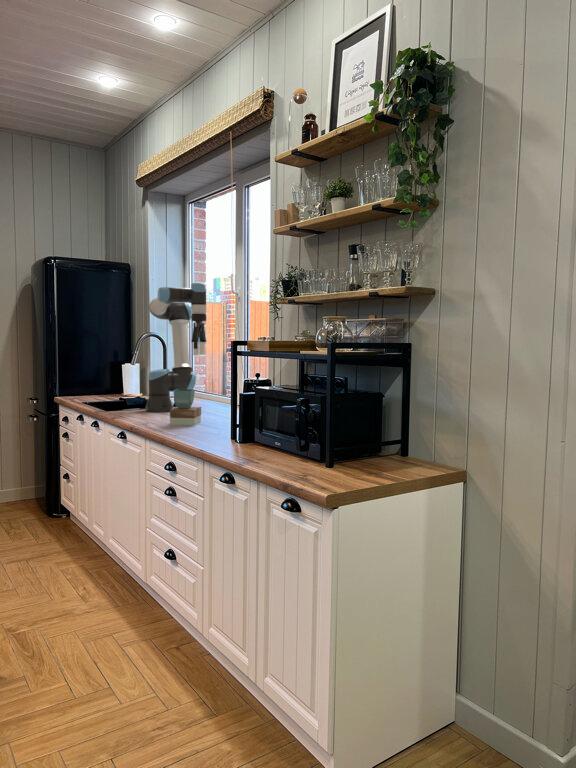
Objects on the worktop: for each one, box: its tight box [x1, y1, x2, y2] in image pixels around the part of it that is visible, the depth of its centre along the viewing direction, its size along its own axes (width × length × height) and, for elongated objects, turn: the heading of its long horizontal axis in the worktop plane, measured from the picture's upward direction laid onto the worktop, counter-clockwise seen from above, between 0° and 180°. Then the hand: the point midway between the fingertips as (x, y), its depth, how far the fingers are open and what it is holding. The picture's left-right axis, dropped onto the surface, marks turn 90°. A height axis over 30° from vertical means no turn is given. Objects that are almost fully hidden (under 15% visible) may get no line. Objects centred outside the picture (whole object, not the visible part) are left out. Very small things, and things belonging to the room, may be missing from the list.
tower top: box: [169, 406, 202, 419], centre depth 285 cm, size 12×12×4 cm
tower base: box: [169, 414, 202, 426], centre depth 285 cm, size 12×12×4 cm
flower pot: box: [173, 388, 195, 409], centre depth 285 cm, size 9×9×9 cm
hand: (199, 355), depth 301 cm, fingers open, 13 cm apart
